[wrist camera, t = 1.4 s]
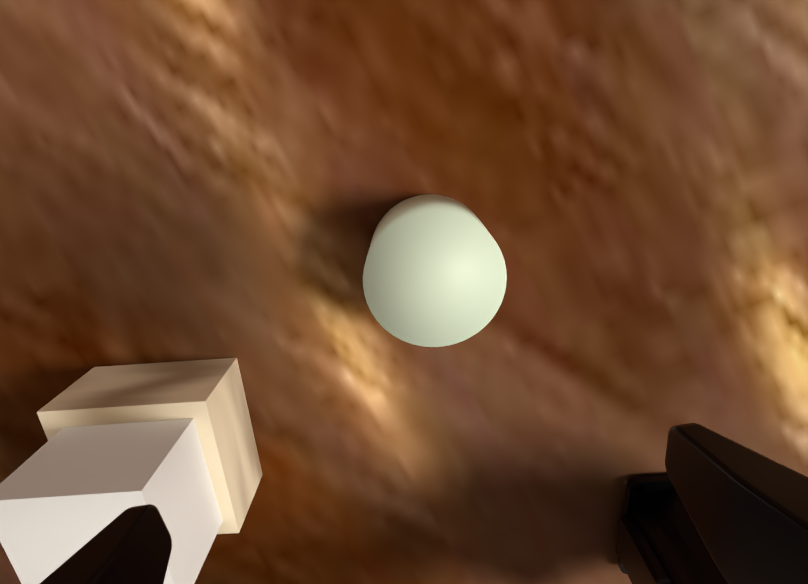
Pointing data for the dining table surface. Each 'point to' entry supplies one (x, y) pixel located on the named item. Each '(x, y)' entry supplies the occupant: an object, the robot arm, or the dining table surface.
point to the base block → (174, 417)
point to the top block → (109, 494)
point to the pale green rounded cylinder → (433, 272)
